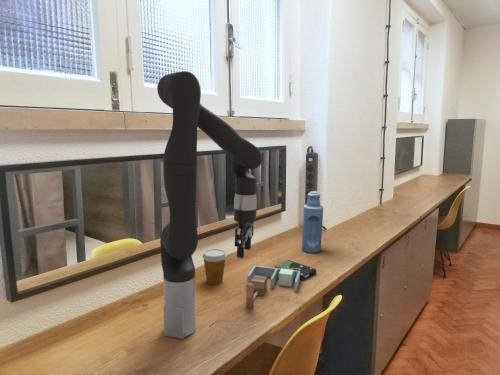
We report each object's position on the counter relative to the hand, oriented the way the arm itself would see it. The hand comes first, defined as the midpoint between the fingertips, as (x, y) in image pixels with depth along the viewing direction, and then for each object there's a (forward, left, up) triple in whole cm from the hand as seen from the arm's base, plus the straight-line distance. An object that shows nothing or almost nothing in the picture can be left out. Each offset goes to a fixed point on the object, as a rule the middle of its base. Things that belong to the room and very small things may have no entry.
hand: (244, 253), depth 121 cm
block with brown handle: (+6, -3, -19) cm, 20 cm away
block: (+21, -12, -19) cm, 31 cm away
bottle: (+62, -18, -19) cm, 68 cm away
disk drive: (+33, -14, -19) cm, 40 cm away
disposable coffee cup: (+14, +16, -19) cm, 29 cm away
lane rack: (+19, -7, -19) cm, 28 cm away
